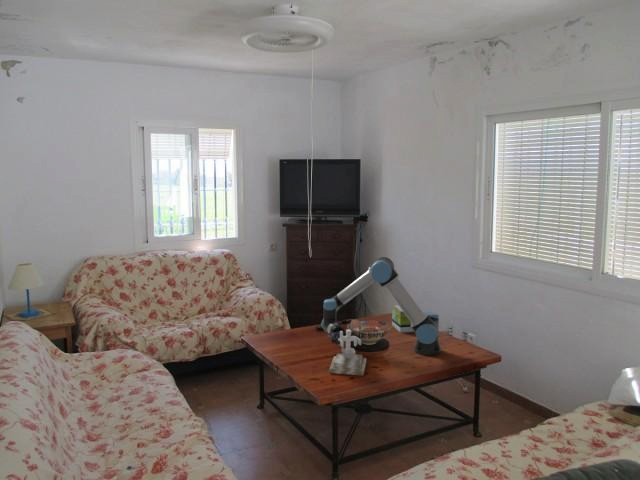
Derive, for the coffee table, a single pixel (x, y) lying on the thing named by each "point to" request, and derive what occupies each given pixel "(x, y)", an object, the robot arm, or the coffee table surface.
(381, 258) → the robot arm
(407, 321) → the tea box
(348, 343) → the figurine
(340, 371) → the plinth
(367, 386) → the coffee table surface
